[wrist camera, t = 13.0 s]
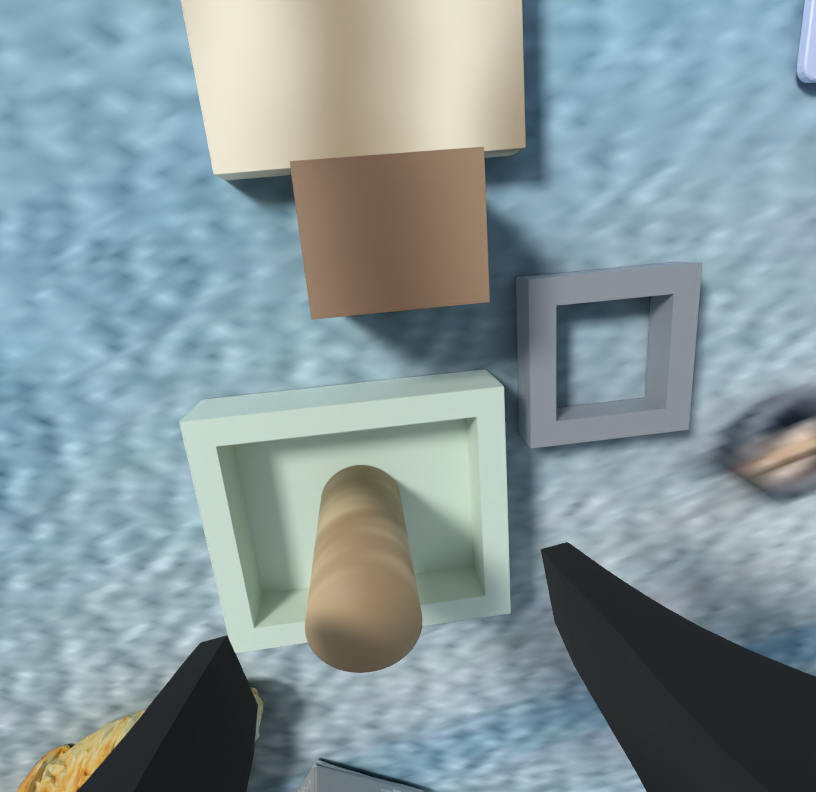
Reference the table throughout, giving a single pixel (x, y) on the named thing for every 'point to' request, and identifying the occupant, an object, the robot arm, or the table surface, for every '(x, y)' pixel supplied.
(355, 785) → the skincare box
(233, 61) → the cream flat block
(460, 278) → the brown block
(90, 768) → the croissant
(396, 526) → the dowel
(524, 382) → the dowel socket
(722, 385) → the table surface
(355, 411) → the tray
